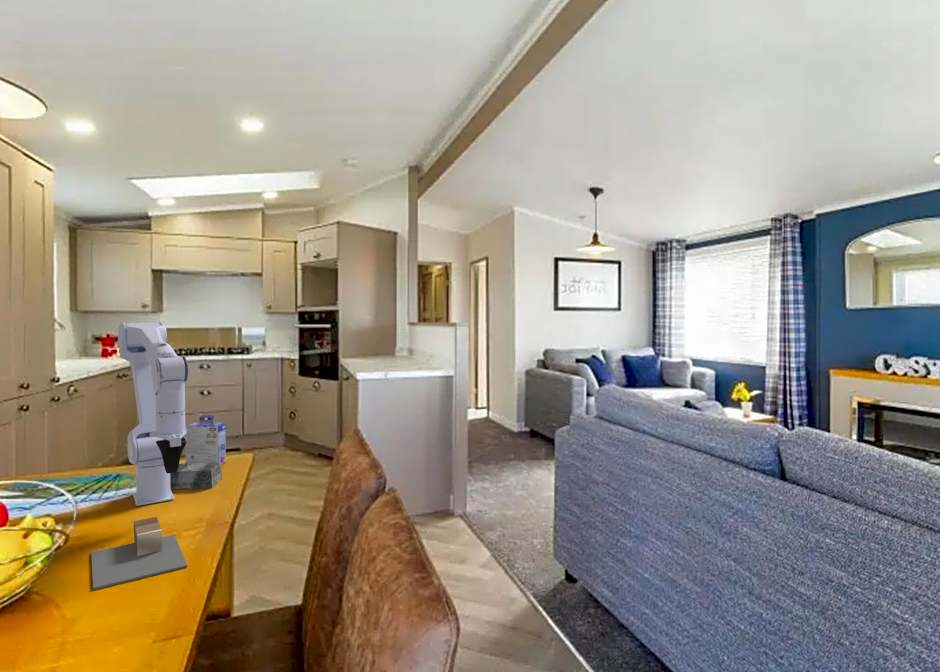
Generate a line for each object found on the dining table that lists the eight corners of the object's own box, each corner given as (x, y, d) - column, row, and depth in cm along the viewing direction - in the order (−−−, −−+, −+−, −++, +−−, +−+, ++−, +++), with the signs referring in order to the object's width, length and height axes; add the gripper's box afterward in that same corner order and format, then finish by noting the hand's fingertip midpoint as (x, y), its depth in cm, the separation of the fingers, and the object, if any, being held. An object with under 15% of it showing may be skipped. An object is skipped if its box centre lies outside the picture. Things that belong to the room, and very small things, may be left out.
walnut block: (133, 521, 107) (137, 535, 101) (156, 516, 109) (161, 530, 103) (134, 540, 107) (137, 556, 101) (157, 536, 110) (162, 550, 103)
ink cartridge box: (227, 461, 163) (226, 414, 163) (219, 467, 158) (218, 418, 157) (194, 461, 163) (193, 414, 162) (185, 467, 158) (184, 418, 157)
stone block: (169, 480, 147) (169, 461, 147) (224, 479, 148) (224, 460, 148) (153, 490, 138) (153, 470, 138) (212, 489, 139) (212, 469, 139)
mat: (91, 554, 102) (91, 551, 102) (174, 536, 111) (174, 534, 111) (93, 590, 89) (93, 588, 89) (187, 567, 98) (187, 565, 98)
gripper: (146, 407, 122) (147, 466, 123) (153, 419, 111) (154, 484, 111) (180, 404, 126) (181, 461, 127) (191, 415, 115) (192, 478, 115)
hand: (171, 472), depth 119 cm, fingers closed
